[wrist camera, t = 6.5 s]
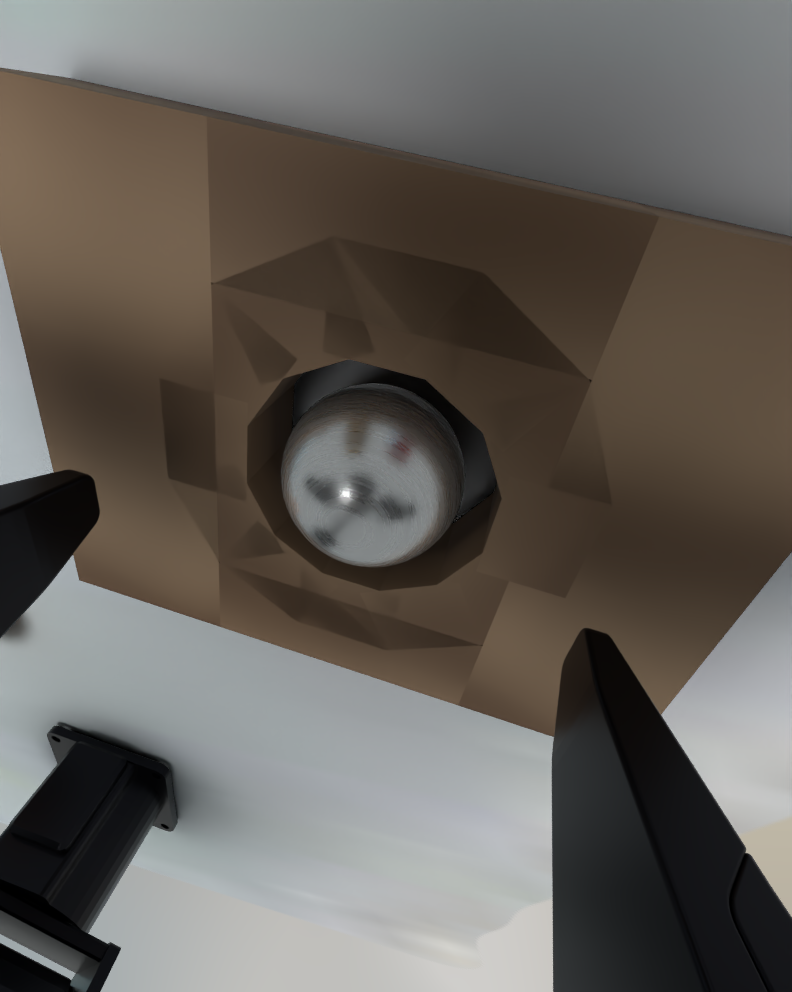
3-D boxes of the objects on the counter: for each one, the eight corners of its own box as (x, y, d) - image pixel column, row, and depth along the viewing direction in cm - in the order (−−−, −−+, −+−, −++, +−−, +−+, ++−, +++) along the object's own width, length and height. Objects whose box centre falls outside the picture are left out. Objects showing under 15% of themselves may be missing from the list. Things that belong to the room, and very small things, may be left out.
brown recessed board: (615, 682, 16) (624, 760, 14) (134, 530, 18) (79, 580, 16) (900, 261, 9) (999, 292, 7) (68, 77, 11) (-44, 61, 9)
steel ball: (452, 520, 14) (425, 629, 11) (313, 480, 15) (245, 574, 11) (494, 382, 12) (476, 469, 9) (326, 339, 12) (249, 406, 9)
